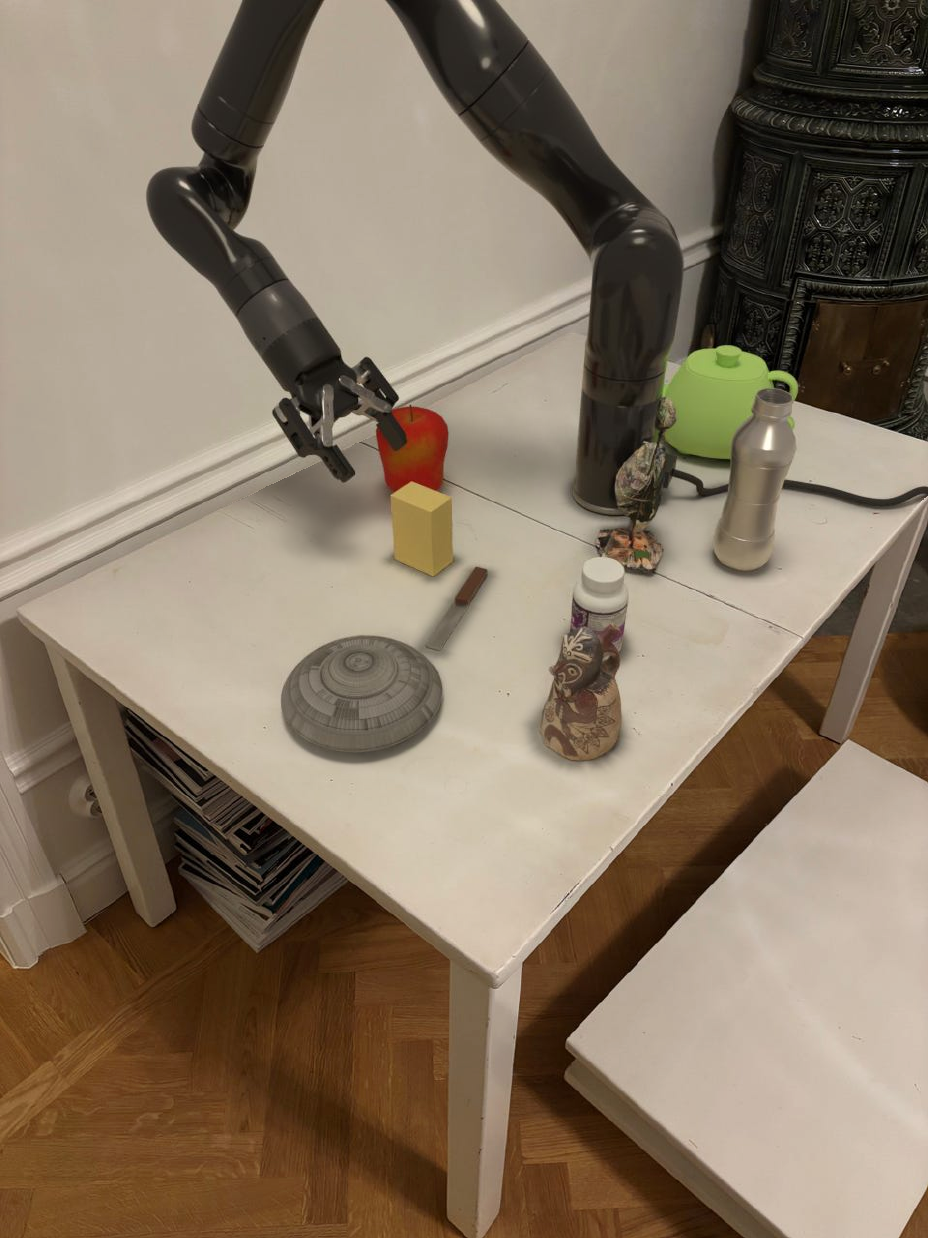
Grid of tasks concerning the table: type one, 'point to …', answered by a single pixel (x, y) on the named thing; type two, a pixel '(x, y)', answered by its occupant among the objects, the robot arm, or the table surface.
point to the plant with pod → (640, 499)
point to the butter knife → (457, 609)
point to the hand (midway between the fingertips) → (376, 462)
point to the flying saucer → (361, 694)
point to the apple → (415, 449)
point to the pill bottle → (600, 598)
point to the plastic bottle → (756, 482)
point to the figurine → (584, 696)
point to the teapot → (717, 398)
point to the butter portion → (422, 528)
